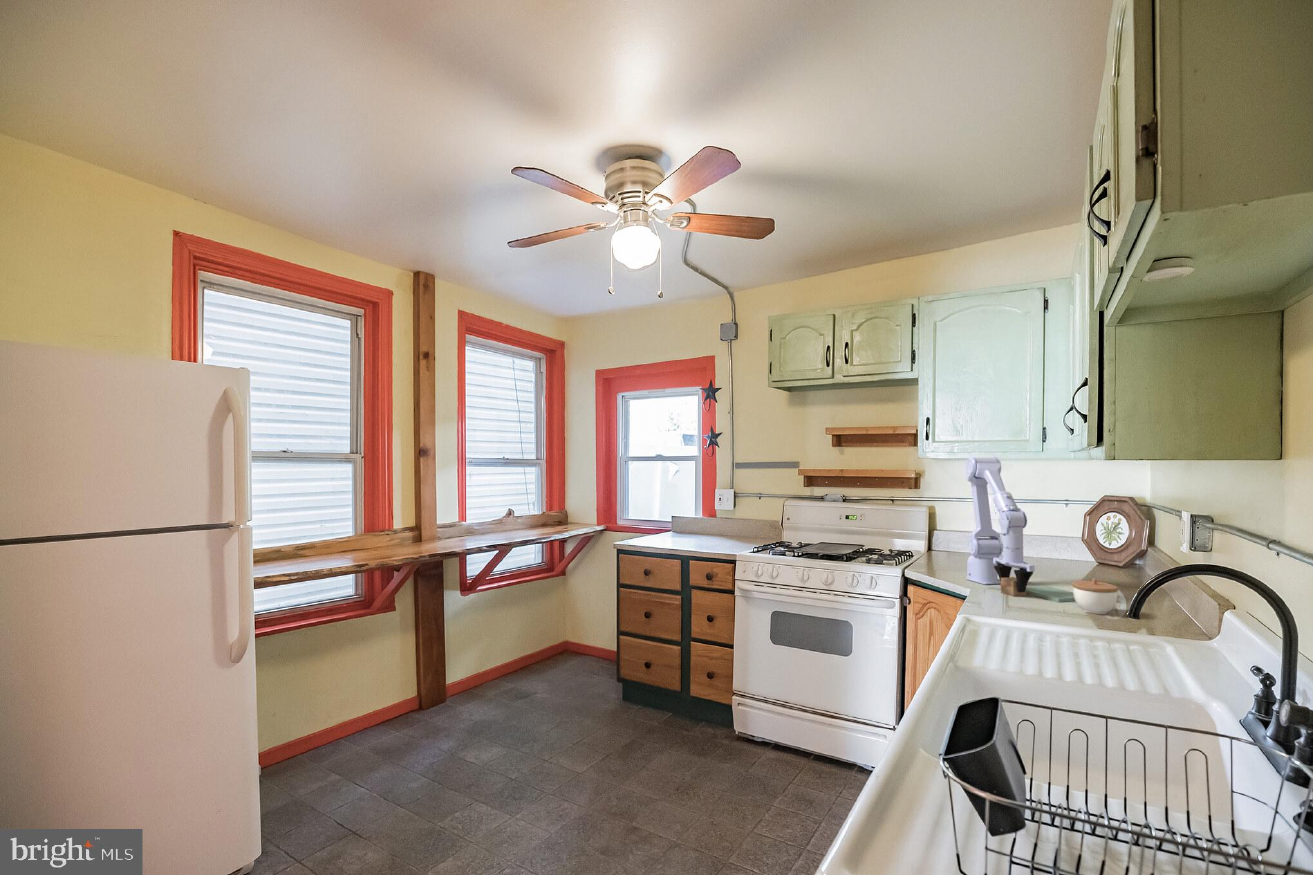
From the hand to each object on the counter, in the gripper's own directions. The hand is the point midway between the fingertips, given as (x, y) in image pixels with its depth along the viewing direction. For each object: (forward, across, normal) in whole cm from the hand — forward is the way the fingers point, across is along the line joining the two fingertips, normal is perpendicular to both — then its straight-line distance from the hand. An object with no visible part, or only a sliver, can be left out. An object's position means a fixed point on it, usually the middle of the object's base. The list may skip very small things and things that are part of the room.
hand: (1013, 589), depth 198 cm
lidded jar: (+2, +23, +6) cm, 24 cm away
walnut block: (+2, 0, 0) cm, 2 cm away
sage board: (+1, +4, +11) cm, 12 cm away
